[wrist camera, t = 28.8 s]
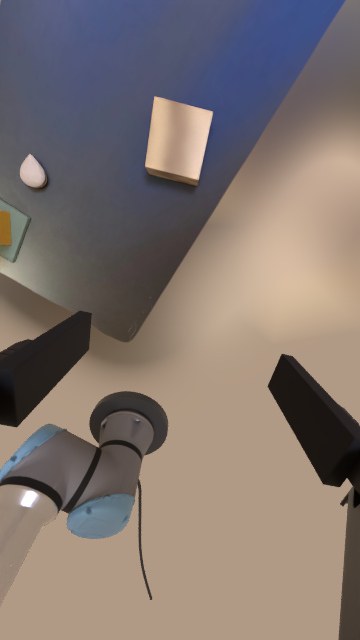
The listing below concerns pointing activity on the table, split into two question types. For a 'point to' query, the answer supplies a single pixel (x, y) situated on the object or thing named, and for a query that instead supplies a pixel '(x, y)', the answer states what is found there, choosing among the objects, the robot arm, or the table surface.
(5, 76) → the table surface
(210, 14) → the table surface
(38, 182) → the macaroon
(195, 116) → the birch block
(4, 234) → the yellow block
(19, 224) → the coaster
